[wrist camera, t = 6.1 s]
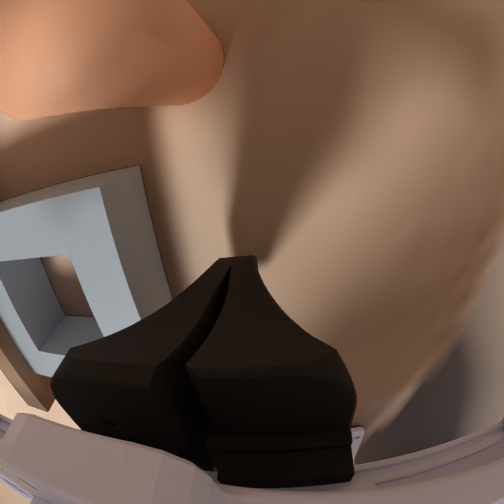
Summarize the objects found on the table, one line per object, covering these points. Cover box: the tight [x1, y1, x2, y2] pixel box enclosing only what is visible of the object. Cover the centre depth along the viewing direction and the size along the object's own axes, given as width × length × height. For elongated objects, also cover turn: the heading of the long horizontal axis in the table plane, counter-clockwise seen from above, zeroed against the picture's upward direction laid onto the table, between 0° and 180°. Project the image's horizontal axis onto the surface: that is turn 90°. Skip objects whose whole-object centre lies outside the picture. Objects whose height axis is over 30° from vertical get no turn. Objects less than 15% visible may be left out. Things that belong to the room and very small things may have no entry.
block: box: [0, 165, 172, 377], centre depth 11 cm, size 9×9×3 cm
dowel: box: [0, 0, 224, 120], centre depth 5 cm, size 3×3×7 cm
